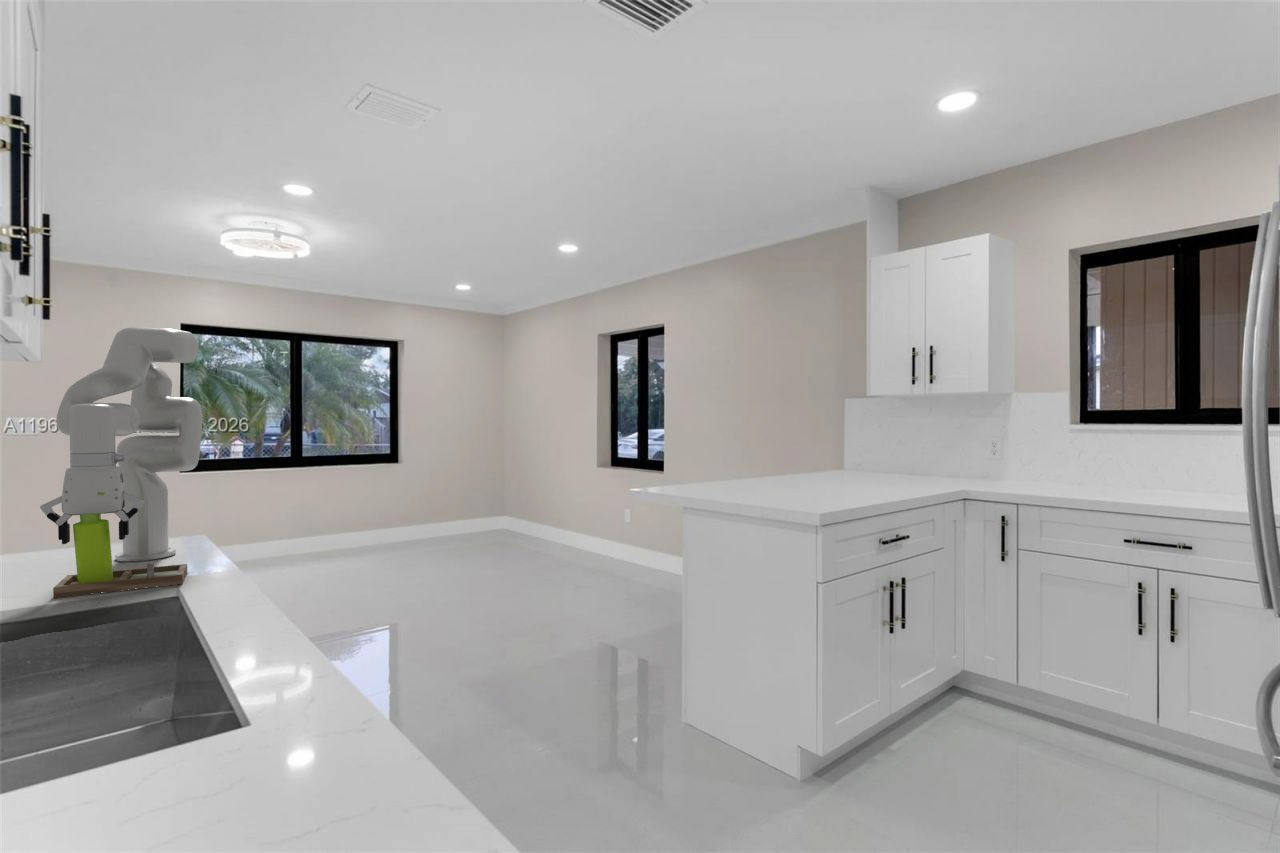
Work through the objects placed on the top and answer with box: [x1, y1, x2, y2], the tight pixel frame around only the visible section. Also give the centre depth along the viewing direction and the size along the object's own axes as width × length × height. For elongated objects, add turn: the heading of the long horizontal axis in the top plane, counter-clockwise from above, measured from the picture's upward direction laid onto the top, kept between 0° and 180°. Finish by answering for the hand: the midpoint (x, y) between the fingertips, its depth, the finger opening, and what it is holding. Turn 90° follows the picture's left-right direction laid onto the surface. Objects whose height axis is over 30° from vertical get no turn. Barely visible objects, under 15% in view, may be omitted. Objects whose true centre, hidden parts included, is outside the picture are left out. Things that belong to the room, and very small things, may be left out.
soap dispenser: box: [72, 492, 114, 584], centre depth 140 cm, size 6×7×20 cm
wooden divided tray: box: [52, 562, 188, 599], centre depth 143 cm, size 11×22×5 cm, turn 121°
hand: (94, 540), depth 140 cm, fingers open, 9 cm apart
